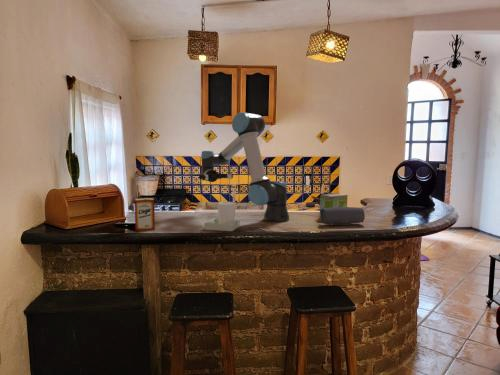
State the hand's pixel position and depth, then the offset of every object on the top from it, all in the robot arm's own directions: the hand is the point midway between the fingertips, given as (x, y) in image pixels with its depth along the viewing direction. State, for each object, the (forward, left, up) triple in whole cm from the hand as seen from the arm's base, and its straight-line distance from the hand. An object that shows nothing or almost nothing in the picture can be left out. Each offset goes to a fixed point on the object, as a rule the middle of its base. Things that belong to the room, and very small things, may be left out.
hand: (219, 177), depth 202 cm
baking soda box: (+32, +26, -26) cm, 49 cm away
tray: (-6, +12, -26) cm, 29 cm away
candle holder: (-7, +10, -26) cm, 28 cm away
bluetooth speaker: (-68, -12, -26) cm, 74 cm away
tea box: (-63, -32, -26) cm, 75 cm away
